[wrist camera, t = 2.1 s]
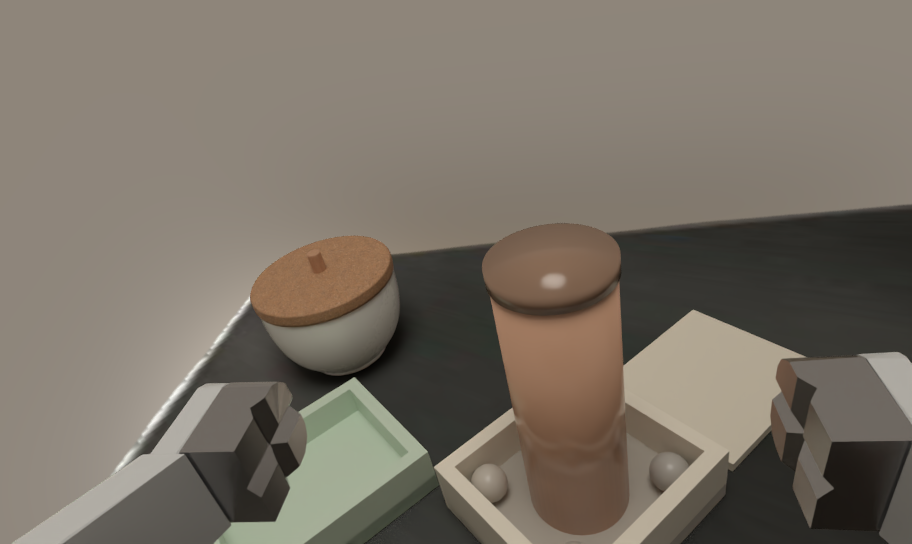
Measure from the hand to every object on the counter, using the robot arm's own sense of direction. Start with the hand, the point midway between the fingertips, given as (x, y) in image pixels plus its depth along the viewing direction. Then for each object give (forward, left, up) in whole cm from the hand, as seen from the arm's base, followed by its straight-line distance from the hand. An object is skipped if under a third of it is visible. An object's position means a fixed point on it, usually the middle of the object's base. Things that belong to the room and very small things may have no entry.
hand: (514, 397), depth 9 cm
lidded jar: (-6, -31, -21) cm, 38 cm away
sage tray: (+2, -20, -21) cm, 29 cm away
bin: (-15, -9, -21) cm, 27 cm away
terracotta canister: (-9, -9, -20) cm, 23 cm away
